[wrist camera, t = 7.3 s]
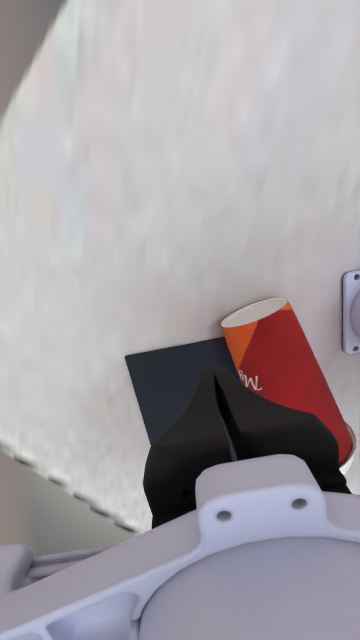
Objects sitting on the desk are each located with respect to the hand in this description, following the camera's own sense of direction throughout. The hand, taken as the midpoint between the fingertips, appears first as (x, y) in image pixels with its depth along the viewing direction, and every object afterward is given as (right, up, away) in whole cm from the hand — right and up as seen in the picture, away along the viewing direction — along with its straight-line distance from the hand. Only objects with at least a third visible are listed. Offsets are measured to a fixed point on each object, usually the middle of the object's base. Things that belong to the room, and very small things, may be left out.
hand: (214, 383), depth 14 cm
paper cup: (+4, +4, +6) cm, 9 cm away
